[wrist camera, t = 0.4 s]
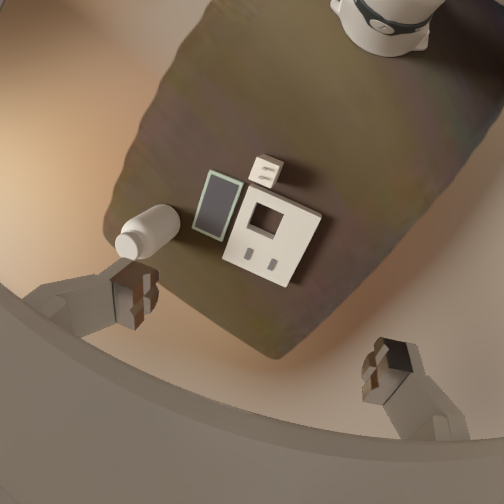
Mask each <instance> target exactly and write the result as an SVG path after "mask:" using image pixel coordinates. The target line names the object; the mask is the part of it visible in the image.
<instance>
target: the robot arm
mask: <svg viewBox="0 0 504 504" xmlns="http://www.w3.org/2000/svg"><path fill="white" fill-rule="evenodd" d="M444 1H445V0H340V2H339V1H338V0H332V1H331V3H330V6H331V8H332V9H333V11H334V12H335V13H336V14H337V15H338V16H339V18H340V20H341V23H342V26H343V28H344V30H345V32H346V33H347V35H348V36H349V37H350V38H351V40H352V41H353V42H354V43H356V44H357V45H358V46H360V47H361V48H363V49H364V50H366V51H368V52H370V53H373V54H376V55H379V56H385V57H395V56H400V55H403V54H405V53H407V52H410V51H423V50H425V49H426V48H427V46H428V36H429V33H430V31H429V22H430V21H431V19H432V17H433V15H434V11H435V10H436V9H437V8H438V7H439V6H440V5H441V4H442V3H443V2H444ZM494 1H496V2H498V3H499V4H501V5H503V6H504V0H494ZM158 281H159V272H158V270H157V269H154V268H152V267H149V266H147V265H144V264H141V263H139V262H136V261H134V260H131V259H128V258H126V257H122V258H120V259H119V260H118V261H116V262H115V263H113V264H112V265H111V266H109V267H108V268H107V269H105V270H104V271H103V272H101V273H100V274H99V275H95V274H93V275H87V276H82V277H77V278H73V279H67V280H62V281H57V282H53V283H48V284H43V285H40V286H39V287H37V288H36V289H35V290H33V291H32V292H31V293H29V294H28V295H27V296H25V297H24V298H23V299H21V298H19V297H18V296H16V295H15V294H14V293H13V292H11V291H10V290H9V289H7V288H6V287H5V286H4V285H2V284H1V283H0V504H504V437H501V438H491V439H480V440H470V435H469V431H468V427H467V423H466V419H465V416H464V415H463V413H462V412H461V411H460V410H459V409H458V408H457V406H456V405H455V404H454V403H453V402H452V401H451V400H450V399H449V398H448V396H447V395H446V394H445V393H444V392H443V391H442V390H441V389H440V387H439V386H438V385H437V384H436V383H435V382H434V381H433V380H432V379H431V377H429V376H427V375H426V374H425V370H424V367H423V363H422V360H421V356H420V353H419V350H418V347H417V345H416V344H413V343H408V342H401V341H396V340H392V339H388V338H383V337H380V338H378V339H377V341H376V342H375V344H374V351H372V352H371V353H369V354H368V355H367V357H366V359H365V360H364V364H363V366H362V379H363V380H364V382H365V384H364V385H363V387H362V394H363V402H367V403H373V404H378V405H383V408H384V410H385V411H386V413H387V415H388V416H389V418H390V420H391V422H392V424H393V425H394V427H395V429H396V431H397V433H398V434H399V436H400V438H401V439H388V438H377V437H369V436H361V435H353V434H347V433H340V432H334V431H329V430H323V429H318V428H313V427H308V426H304V425H299V424H295V423H290V422H286V421H282V420H278V419H274V418H271V417H267V416H263V415H260V414H256V413H253V412H249V411H246V410H242V409H239V408H236V407H233V406H230V405H227V404H224V403H221V402H218V401H215V400H212V399H210V398H207V397H204V396H201V395H199V394H196V393H193V392H191V391H188V390H185V389H183V388H181V387H178V386H175V385H173V384H171V383H169V382H166V381H164V380H162V379H159V378H157V377H155V376H152V375H150V374H148V373H146V372H144V371H142V370H140V369H137V368H135V367H133V366H131V365H129V364H127V363H125V362H123V361H121V360H119V359H117V358H115V357H113V356H111V355H110V354H108V353H106V352H104V351H102V350H100V349H98V348H97V347H95V346H93V345H91V344H90V343H88V342H86V341H84V340H83V339H81V337H84V336H86V335H89V334H91V333H94V332H96V331H99V330H101V329H103V328H106V327H108V326H111V325H113V324H116V323H118V324H121V325H123V326H125V327H128V328H130V329H132V330H136V329H137V328H138V327H139V326H140V324H141V323H142V322H143V321H144V315H146V314H149V313H151V312H152V310H153V309H154V308H155V306H156V303H157V301H158V297H159V290H158V288H157V286H156V283H157V282H158Z"/></svg>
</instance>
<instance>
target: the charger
mask: <svg viewBox="0 0 504 504" xmlns="http://www.w3.org/2000/svg"><path fill="white" fill-rule="evenodd" d="M283 165H284V162H283V161H280V160H278V159H275V158H273V157H271V156H268V155H266V154H263V155H260V156H258V157H257V158H256V160H255V163H254V165H253V168H252V171H251V173H250V176H249V178H248V179H250V180H252V181H254V182H257V183H259V184H261V185H264V186H266V187H268V188H271V187H272V186H273V185H274V184H275V183H276V182H277V179H278V177H279V174H280V172H281V170H282V167H283Z"/></svg>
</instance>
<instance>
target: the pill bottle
mask: <svg viewBox="0 0 504 504" xmlns="http://www.w3.org/2000/svg"><path fill="white" fill-rule="evenodd" d="M179 229H180V218H179V215H178V214H177V212H176V211H175V210H174V209H173V208H172V207H171V206H169V205H165V204H160V205H156V206H154V207H152V208H150V209H149V210H147V211H145V212H143V213H141V214H140V215H138V216H136V217H134V218H133V219H131V220H129V221H128V222H126V223H125V225H124V226H123V228H122V231H121V234H120V235H119V236H118V237H117V238H116V241H115V247H116V250H117V252H118V254H119V256H120V257H121V258H122V257H126V258H128V259H131V260H136V259H145V258H148V257H150V256H151V255H153V254H154V253H155V252H156V251H157V250H159V249H160V248H161V247H162V246H164V245H165V244H166V243H167V242H168V241H170V240H171V239H172V238H173V237H175V236H176V234H177V233H178V231H179Z"/></svg>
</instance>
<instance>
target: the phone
mask: <svg viewBox="0 0 504 504" xmlns="http://www.w3.org/2000/svg"><path fill="white" fill-rule="evenodd" d="M243 185H244V182H242V181H240V180H237V179H235V178H232V177H230V176H228V175H225V174H223V173H220V172H218V171H215V170H213V169H210V170H209V173H208V176H207V179H206V183H205V186H204V189H203V192H202V195H201V198H200V202H199V205H198V208H197V211H196V215H195V218H194V221H193V225H192V229H195V230H197V231H199V232H201V233H203V234H206V235H208V236H210V237H212V238H214V239H216V240H219V241H221V242H222V241H223V239H224V236H225V234H226V231H227V228H228V225H229V223H230V220H231V217H232V214H233V212H234V209H235V206H236V204H237V201H238V198H239V195H240V193H241V190H242V187H243Z"/></svg>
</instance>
